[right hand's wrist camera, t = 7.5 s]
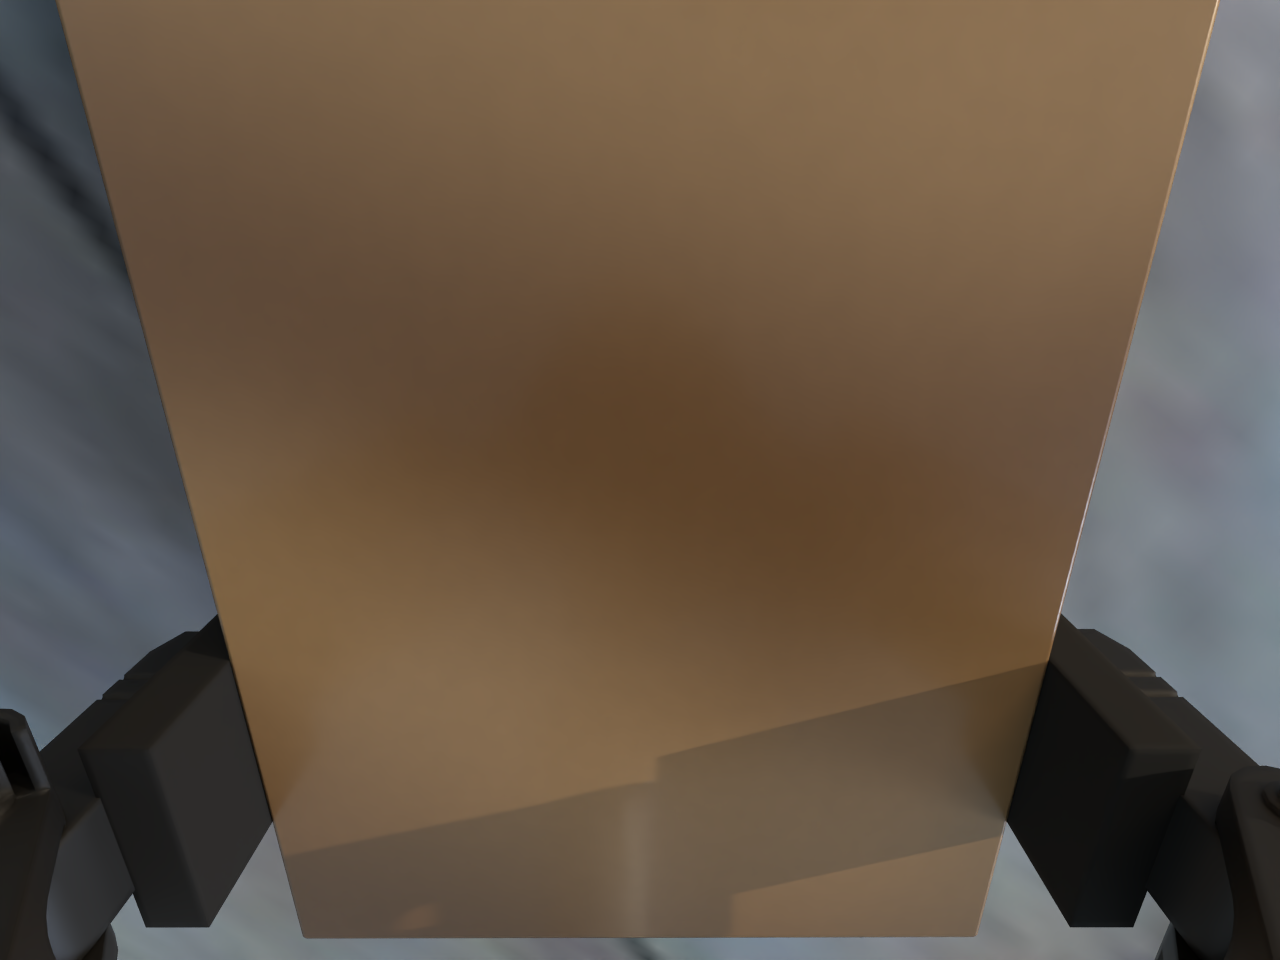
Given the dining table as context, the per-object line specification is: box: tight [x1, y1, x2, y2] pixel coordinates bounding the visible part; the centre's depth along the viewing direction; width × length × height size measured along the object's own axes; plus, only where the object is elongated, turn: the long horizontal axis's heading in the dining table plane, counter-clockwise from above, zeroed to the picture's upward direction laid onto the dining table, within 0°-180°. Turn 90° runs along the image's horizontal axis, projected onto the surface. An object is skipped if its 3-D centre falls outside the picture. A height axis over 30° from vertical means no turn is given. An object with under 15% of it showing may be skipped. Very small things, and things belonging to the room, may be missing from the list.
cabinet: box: [55, 0, 1220, 938], centre depth 11 cm, size 18×10×9 cm, turn 0°
